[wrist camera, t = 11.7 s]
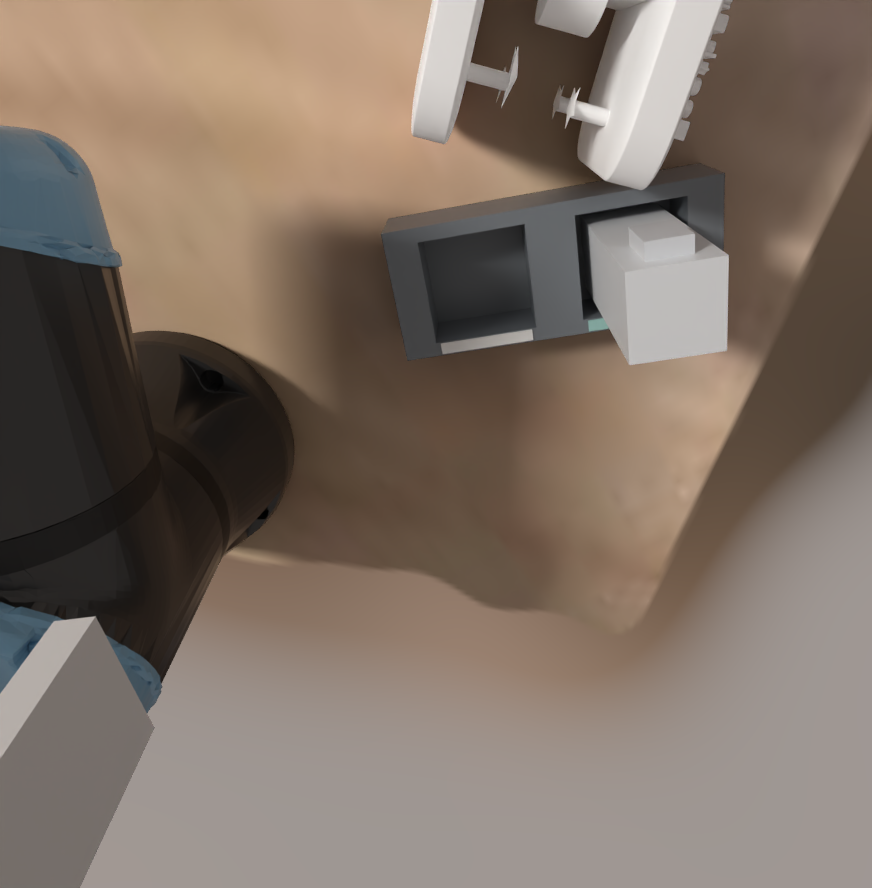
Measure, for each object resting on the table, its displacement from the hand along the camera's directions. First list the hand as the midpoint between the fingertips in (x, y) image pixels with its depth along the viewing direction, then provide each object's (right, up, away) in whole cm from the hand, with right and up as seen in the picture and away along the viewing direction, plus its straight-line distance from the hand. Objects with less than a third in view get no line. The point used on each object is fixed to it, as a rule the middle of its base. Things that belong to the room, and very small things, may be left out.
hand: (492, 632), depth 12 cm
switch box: (+5, +14, +28) cm, 32 cm away
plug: (+9, +14, +27) cm, 32 cm away
